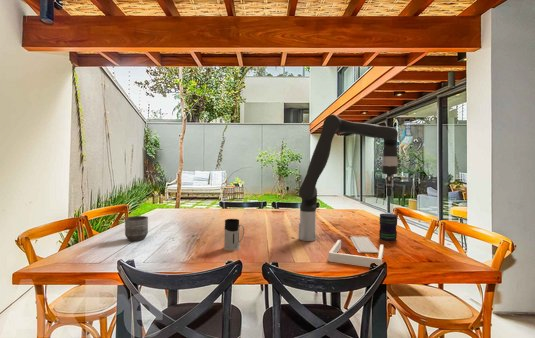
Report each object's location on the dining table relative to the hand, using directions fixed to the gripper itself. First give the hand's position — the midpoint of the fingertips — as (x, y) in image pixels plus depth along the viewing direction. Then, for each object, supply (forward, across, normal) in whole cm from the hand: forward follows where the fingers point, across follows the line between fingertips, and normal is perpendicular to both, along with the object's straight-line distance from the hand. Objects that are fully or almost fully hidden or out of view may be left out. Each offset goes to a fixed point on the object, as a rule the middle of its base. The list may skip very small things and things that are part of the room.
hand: (389, 195), depth 159 cm
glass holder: (+29, +37, -73) cm, 87 cm away
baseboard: (+30, -1, -14) cm, 33 cm away
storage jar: (+29, -20, 0) cm, 35 cm away
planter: (+30, +45, -134) cm, 145 cm away
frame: (+29, +21, -13) cm, 38 cm away
